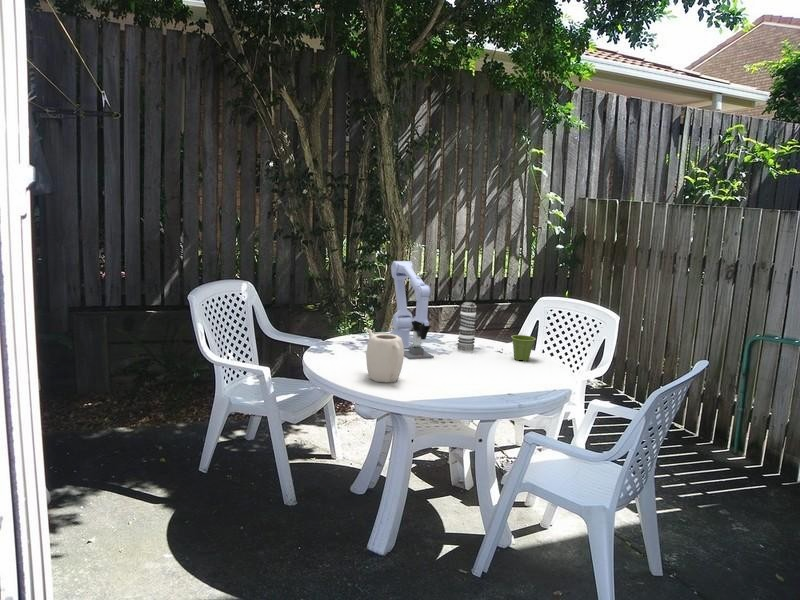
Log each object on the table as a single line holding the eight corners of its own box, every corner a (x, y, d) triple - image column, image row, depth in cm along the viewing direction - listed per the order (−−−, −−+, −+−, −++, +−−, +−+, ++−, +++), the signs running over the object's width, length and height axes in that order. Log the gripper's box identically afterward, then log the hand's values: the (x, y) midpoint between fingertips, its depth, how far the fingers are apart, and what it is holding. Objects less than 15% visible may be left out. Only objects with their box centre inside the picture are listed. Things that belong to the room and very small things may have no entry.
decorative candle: (453, 349, 361) (456, 301, 357) (469, 348, 365) (472, 301, 361) (461, 353, 353) (465, 304, 349) (477, 352, 356) (481, 304, 352)
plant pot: (507, 360, 343) (509, 338, 341) (511, 355, 354) (513, 333, 352) (531, 363, 339) (533, 341, 337) (535, 358, 350) (537, 336, 348)
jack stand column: (412, 345, 343) (413, 330, 342) (418, 345, 344) (419, 330, 343) (415, 346, 340) (415, 332, 339) (420, 346, 341) (421, 331, 340)
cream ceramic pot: (381, 369, 313) (383, 328, 310) (414, 385, 291) (417, 340, 288) (350, 372, 304) (352, 330, 301) (382, 389, 282) (385, 343, 279)
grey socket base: (398, 352, 346) (399, 343, 346) (422, 351, 351) (423, 343, 351) (408, 359, 335) (409, 349, 334) (433, 358, 339) (434, 348, 339)
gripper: (408, 307, 345) (406, 334, 347) (420, 312, 332) (418, 341, 334) (421, 307, 348) (420, 334, 350) (433, 312, 335) (431, 340, 337)
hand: (420, 337), depth 342 cm, fingers open, 7 cm apart
